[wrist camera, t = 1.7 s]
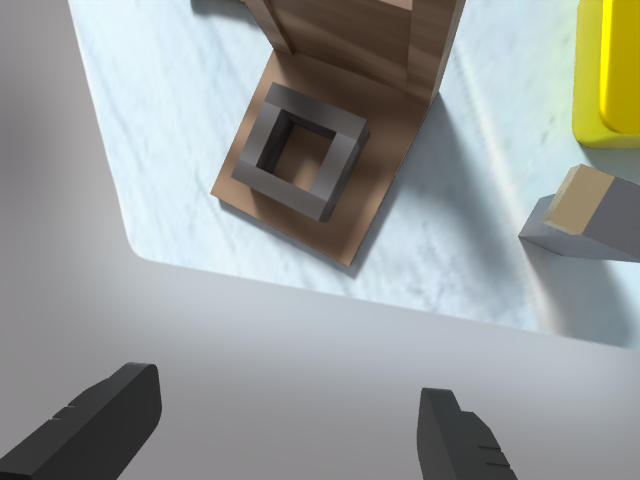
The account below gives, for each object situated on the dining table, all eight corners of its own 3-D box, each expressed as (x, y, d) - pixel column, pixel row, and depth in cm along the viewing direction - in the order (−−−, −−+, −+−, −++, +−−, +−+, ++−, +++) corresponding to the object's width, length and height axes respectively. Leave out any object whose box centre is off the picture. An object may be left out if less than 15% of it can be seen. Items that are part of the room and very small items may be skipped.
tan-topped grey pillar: (518, 189, 29) (581, 163, 19) (584, 216, 28) (687, 204, 18) (497, 227, 29) (548, 220, 20) (561, 255, 28) (650, 263, 18)
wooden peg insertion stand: (288, 35, 34) (178, -177, 17) (438, 90, 31) (499, -111, 13) (217, 195, 36) (55, 154, 19) (350, 265, 33) (300, 294, 15)
